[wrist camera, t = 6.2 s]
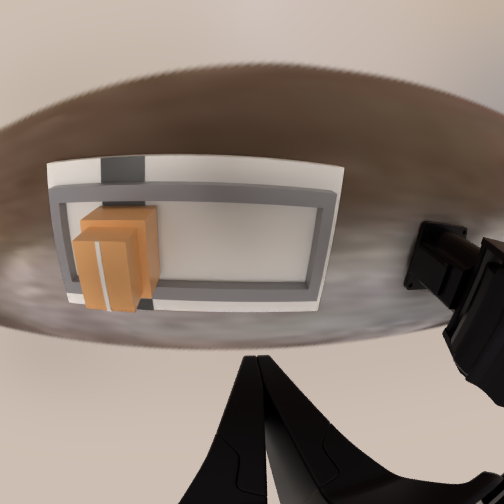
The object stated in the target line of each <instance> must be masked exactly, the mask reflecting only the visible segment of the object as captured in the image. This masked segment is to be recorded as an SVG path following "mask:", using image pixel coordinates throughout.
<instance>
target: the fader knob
mask: <svg viewBox="0 0 504 504" xmlns="http://www.w3.org/2000/svg"><path fill="white" fill-rule="evenodd" d="M80 227H81V234H79V235H78V236H77V237H76V238H75V239H74V240H73V241H72V243H73V249H74V255H75V260H76V265H77V270H78V275H79V279H80V284H81V288H82V292H83V296H84V300H85V304H86V308H89V309H100V310H107V311H109V312H111V311H123V312H135V311H136V309H137V306H138V304H139V301H140V299H141V298H151V299H152V297H153V294H154V291H155V288H156V285H157V282H158V280H159V277H160V262H159V246H158V225H157V206H99V207H97V208H96V209H95V210H93V211H92V212H90V213H89V214H88V215H86V216H85V217H84V218H82V219H81V220H80Z"/></svg>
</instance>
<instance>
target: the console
mask: <svg viewBox="0 0 504 504" xmlns="http://www.w3.org/2000/svg"><path fill="white" fill-rule="evenodd" d="M343 174H344V167H341V166H338V165H331V164H324V163H316V162H308V161H299V160H289V159H278V158H267V157H253V156H237V155H214V154H142V155H119V156H103V157H91V158H80V159H70V160H61V161H54V162H51V163H47V175H48V191H49V201H50V210H51V218H52V225H53V232H54V238H55V244H56V249H57V254H58V259H59V264H60V268H61V273H62V277H63V281H64V285H65V289H66V293H67V296H68V300H69V302H70V303H79V304H85V300H84V296H83V292H82V288H81V284H80V279H79V275H78V270H77V265H76V260H75V255H74V249H73V243H72V241H73V240H74V239H75V238H76V237H77V236H78V235H79V234H81V227H80V220H81V219H82V218H84V217H85V216H86V215H88V214H89V213H90V212H92V211H93V210H95V209H96V208H97V207H99V206H157V225H158V246H159V262H160V277H159V280H158V282H157V285H156V288H155V291H154V294H153V297H152V299H151V298H141V299H140V301H139V304H138V306H137V309H141V310H154V309H155V310H175V311H204V312H296V311H318V306H319V302H320V298H321V294H322V289H323V285H324V280H325V276H326V271H327V266H328V261H329V256H330V251H331V246H332V241H333V236H334V230H335V225H336V219H337V213H338V207H339V201H340V195H341V188H342V181H343Z"/></svg>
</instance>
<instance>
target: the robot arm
mask: <svg viewBox="0 0 504 504" xmlns="http://www.w3.org/2000/svg"><path fill="white" fill-rule="evenodd" d="M426 226H427V228H426ZM466 235H467V228H465V227H464V226H459V225H452V224H445V223H438V222H430V221H424V222H423V223H422V225H421V228H420V232H419V236H418V240H417V243H416V247H415V251H414V254H413V257H412V261H411V264H410V267H409V271H408V274H407V277H406V280H405V283H404V287H405V288H406V289H407V290H417V289H428V290H429V291H430V292H431V293H432V294H433V295H435V296H436V297H437V298H438V299H439V300H440V301H441V302H442V303H443V304H444V305H445V306H446V307H448V308H449V309H450V310H451V311H452V312H453V316H452V318H451V319H450V321H449V323H448V325H447V327H446V328H445V329H444V331H443V333H442V334H443V337H444V339H445V341H446V343H447V346H448V348H449V350H450V352H451V355H452V357H453V360H454V362H455V364H456V366H457V368H458V370H459V372H460V373H461V374H463V375H464V376H465V377H466V378H465V379H466V381H468V382H470V383H472V384H474V385H476V386H478V387H479V388H480V389H482V390H483V391H484V392H485V393H486V394H487V395H488V396H489V397H490V398H491V399H492V400H493V401H494V403H495V404H497V405H498V406H501V407H504V242H501V241H497V240H493V239H489V238H485V237H483V239H482V242H481V244H482V245H481V248H479V247H478V246H476V245H474V244H473V243H471V242H470V241H468V240H466V239H465V238H466ZM266 451H267V455H268V459H269V463H270V467H271V470H272V474H273V478H274V482H275V485H276V489H277V493H278V497H279V500H280V503H281V504H504V473H503V474H502V475H501V476H500V475H498V474H495V473H491V472H486V471H484V472H482V473H480V474H479V475H478V476H476V477H475V478H474V479H472V480H471V481H469V482H467V483H463V484H446V483H436V482H429V481H421V480H415V479H409V478H404V477H401V476H398V475H396V474H394V473H392V472H390V471H388V470H387V469H385V468H384V467H383V466H381V465H380V464H378V463H377V462H375V461H374V460H373V459H372V458H370V457H369V456H367V455H366V454H365V453H364V452H362V451H361V450H360V449H358V448H357V447H356V446H355V445H353V444H352V443H351V442H350V441H349V440H348V439H347V438H346V437H344V436H343V435H342V434H341V433H340V432H339V431H338V430H337V429H336V428H335V427H334V426H333V425H332V424H330V422H329V421H328V420H327V418H326V417H325V416H323V414H322V413H321V412H320V411H319V410H318V409H317V408H316V407H315V406H314V405H313V404H312V402H311V401H310V400H309V399H308V398H307V397H306V396H305V395H304V394H303V393H302V392H301V391H300V390H299V388H298V387H297V386H296V385H295V384H294V383H293V382H292V381H291V380H290V378H289V377H288V376H287V375H286V374H285V373H284V372H283V370H282V369H281V368H280V367H279V366H278V365H277V364H276V363H275V361H274V360H273V359H272V358H271V357H270V356H269V355H258V356H257V357H256V356H244V357H243V360H242V362H241V365H240V368H239V371H238V374H237V377H236V379H235V382H234V385H233V388H232V391H231V394H230V396H229V399H228V402H227V405H226V408H225V410H224V413H223V416H222V419H221V422H220V424H219V427H218V430H217V434H216V435H215V437H214V440H213V443H212V445H211V447H210V450H209V452H208V455H207V457H206V459H205V461H204V462H203V464H202V466H201V468H200V470H199V472H198V473H197V475H196V477H195V478H194V480H193V482H192V483H191V485H190V486H189V488H188V489H187V491H186V493H185V494H184V496H183V497H182V499H181V500H180V502H179V503H178V504H267V475H266Z"/></svg>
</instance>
